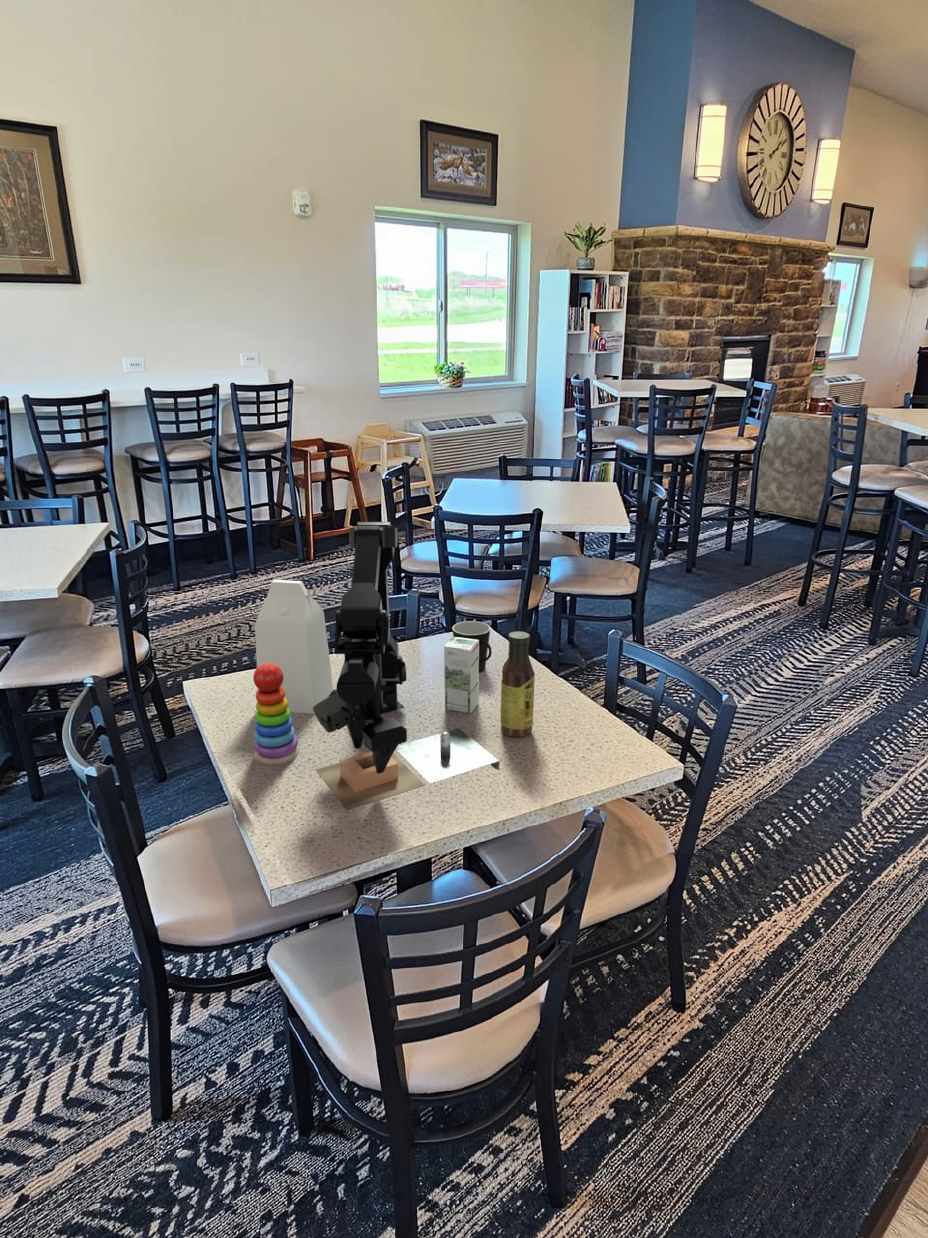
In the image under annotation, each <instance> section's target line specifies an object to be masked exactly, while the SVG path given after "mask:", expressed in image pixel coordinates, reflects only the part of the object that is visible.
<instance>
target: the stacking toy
mask: <svg viewBox="0 0 928 1238" xmlns="http://www.w3.org/2000/svg"><path fill="white" fill-rule="evenodd" d="M283 678H284V677H283V672H282V670H281V669H280V667H278V666H277V665H275V664H272V663H265V664H262V665H260V666H259V667H258V668H257V667H256V669H255V671H254V673H253V678H252V679H253V683H254V685H255V687H256V688H257V690H256V692H255V699H256V701H257V702H256V704H255V708H256V712H255V715H254V716H255V718H254V719H255V723H254V729H255V732H254V739H255V745H254V747H255V751H254V755H253V756H254V759H255V761H257V762H258V763H259V764H263V765H267V766H268V765H269V766H271V765H272V766H275V765H281V764H285V763H288V762H291V761H293V760H294V759H295V758H297V757H298V755H299V754H300V751H301V749H300V746H299V745H298V744H299V739H298V737H297V736H296V734H295V729H294V727H293V719H292V717H291V712H290V710H289V709H288V701H287V699H286V698H285V691H284V689H283V688H282V687H281V685H282V682H283Z"/></svg>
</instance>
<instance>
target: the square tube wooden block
mask: <svg viewBox="0 0 928 1238" xmlns="http://www.w3.org/2000/svg"><path fill="white" fill-rule="evenodd" d="M365 757H373V754H372V751H371V750H369V751H368V752H364V753H360V754H357V755H354V756H351V757H347V758H342V759H340V760H339V763H340V772H341V777H342V778H343V779H344V780H345V781H346V783H347V784H348V785H349V786H350V788H351V789H352V790H353V791H354V792H358V791H361V790H364V789H368V788H371V787H374V786H377V785H380V784H383V783H387V782H390V781H393V780H396V779H398V764H397V763H396V762H395V760H394V759H393V758H392V757H391V758H390V760H389V762H388V764H387V766H386V768H385V770H384V772H383V773H379V774H378V773H377V772H376V768H375V764H374V766H373V767H370V768H366V769H364V768H363V759H364V758H365Z"/></svg>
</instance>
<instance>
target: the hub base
mask: <svg viewBox="0 0 928 1238" xmlns="http://www.w3.org/2000/svg"><path fill="white" fill-rule="evenodd" d="M395 751H397V753H399V754H400V755H401V757H403V758H404V759H405V760H406V761H407V763H409V764H410V765H411V767H413V768H414V770H416V771H417V773H419V774H420V775H421V776H422V777H423V778H424V780H425V781H427V783H429V784H433V783H436V782H439V781H442V780H446V779H449V778H452V777H455V776H457V775H461V774H465V773H467V772H470V771H472V770H473V771H474V770H476V769H479V768H482V767H485V766H488V765H490V766H491V767H492V768H496V767H500V760H499V758H498V759H497V758H496V757H495V756H494V755H493V754H491V752H489V751H488V750H486V749H485V748H484V747H483V746H482V745H480V744H479V743H478V742H477V741H476V740H474V739H473V738H472V737H471V736H470V735H468V733H466V732H465V731H464V730H462V728H460V727H459V728H454V729H451V730H447V731H443V732H441V733H437V734H434V735H431V736H426V737H423V738H420V739H417V740H416V739H415V740H413V741H410V742H405V743H401V744H398V746H397V748H396V749H395Z"/></svg>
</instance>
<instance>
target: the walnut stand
mask: <svg viewBox="0 0 928 1238" xmlns="http://www.w3.org/2000/svg"><path fill="white" fill-rule="evenodd" d="M391 757H392V758H393V759H394V760H395V762H396V763H397V764H398V779H396V780H393V781H390V782H387V783H383V784H380V785H377V786H374V787H371V788H368V789H364V790H361V791H358V792H354V791H353V790H352V789H351V788H350V786H349V785H348V784H347V783H346V781H345V780H344V779H343V778H342V777H341V772H340V762H337V763H335V764H331V765H327V766H324V767H323V766H322V767H320V768H318V769H315V771H316V772H317V774H318V775H319V776H320V777H321V779H322V780H323V781H324V783H326V785H327V787H328V788H329V789H330V790H331V792H332V793H333V795H334V796H335V797H336V798H337V799H338V801H339V802H340V803H341V804H342V806H343V808H344V809H345V810H346V811H350V810H353V809H357V808H360V807H363V806H366V805H368V804H372V803H374V802H378V801H381V800H384V799H387V798H390V797H394V796H396V795H400V794H402V793H403V794H404V793H405V792H408V791H412V790H415V789H418V788H421V787H424V786H425V783H424V782H422V781H421V780H420V779H419V778H418V777H417V775H415V773H413V772H412V770H411V769H409V768H408V766H407V765H405V763H403V761H402V760H401V759H400V758H399V757H398V756H397V755H396V754H394V752H393V754H392V756H391ZM373 766H374V759H373V757H365V758H364V759H363V768H364V769H366V768H370V767H373Z"/></svg>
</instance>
